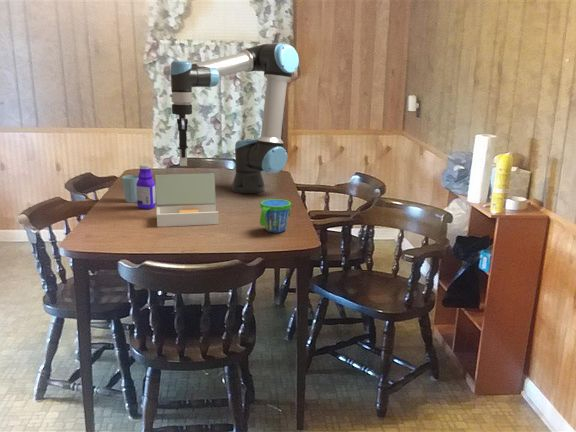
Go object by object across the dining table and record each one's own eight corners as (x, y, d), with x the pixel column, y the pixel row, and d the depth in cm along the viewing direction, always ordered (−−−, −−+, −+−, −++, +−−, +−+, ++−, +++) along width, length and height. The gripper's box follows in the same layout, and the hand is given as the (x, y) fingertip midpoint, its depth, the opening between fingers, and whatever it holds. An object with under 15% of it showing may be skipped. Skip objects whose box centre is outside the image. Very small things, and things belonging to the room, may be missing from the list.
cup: (143, 202, 243) (142, 177, 240) (124, 204, 240) (123, 179, 237) (140, 198, 250) (138, 174, 247) (122, 199, 247) (120, 175, 244)
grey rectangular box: (215, 215, 225) (215, 203, 224) (218, 224, 214) (218, 212, 213) (157, 217, 221) (156, 206, 220) (157, 226, 209) (156, 214, 208)
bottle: (158, 206, 236) (156, 164, 232) (151, 210, 231) (148, 166, 227) (143, 205, 239) (140, 163, 234) (135, 208, 233) (132, 165, 229)
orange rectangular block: (198, 218, 221) (198, 209, 220) (198, 221, 217) (198, 212, 216) (180, 219, 220) (179, 209, 219) (179, 222, 216) (179, 213, 215)
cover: (215, 204, 223) (215, 203, 224) (214, 173, 222) (214, 173, 223) (156, 206, 218) (156, 206, 219) (155, 175, 217) (155, 174, 218)
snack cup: (271, 238, 199) (272, 209, 196) (249, 231, 205) (249, 203, 202) (300, 228, 210) (301, 201, 207) (278, 222, 217) (278, 196, 214)
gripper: (171, 102, 225) (173, 162, 231) (172, 104, 212) (174, 168, 219) (191, 102, 226) (192, 162, 232) (193, 104, 214) (194, 168, 220)
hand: (183, 165), depth 225 cm, fingers closed
